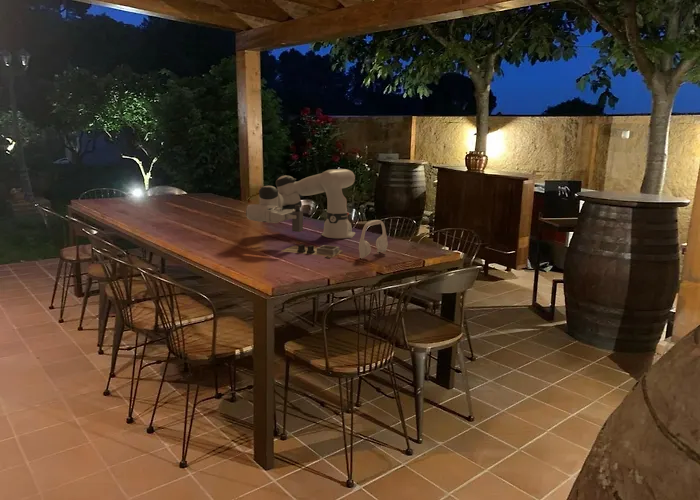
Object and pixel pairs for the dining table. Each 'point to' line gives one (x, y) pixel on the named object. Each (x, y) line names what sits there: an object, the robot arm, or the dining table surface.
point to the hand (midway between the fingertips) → (299, 216)
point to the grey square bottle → (297, 223)
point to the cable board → (315, 250)
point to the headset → (380, 242)
